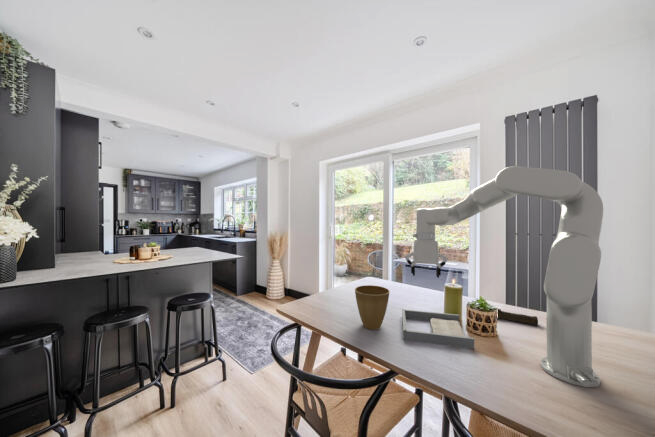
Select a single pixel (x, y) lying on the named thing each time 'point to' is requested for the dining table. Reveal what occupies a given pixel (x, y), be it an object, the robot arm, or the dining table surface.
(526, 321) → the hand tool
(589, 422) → the dining table surface
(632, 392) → the dining table surface
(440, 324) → the washcloth
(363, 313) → the plant pot
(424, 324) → the dining table surface
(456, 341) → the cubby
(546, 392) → the dining table surface
